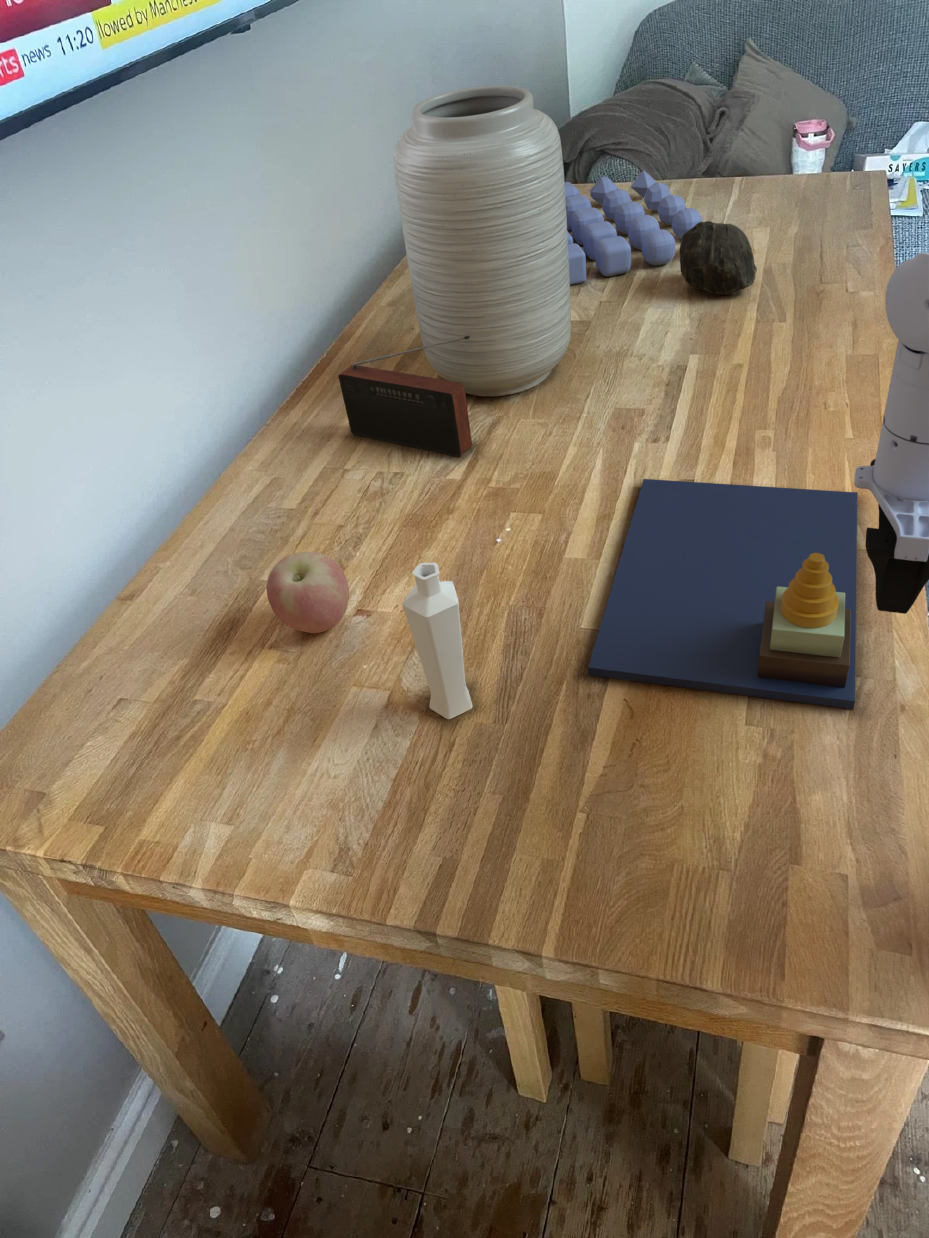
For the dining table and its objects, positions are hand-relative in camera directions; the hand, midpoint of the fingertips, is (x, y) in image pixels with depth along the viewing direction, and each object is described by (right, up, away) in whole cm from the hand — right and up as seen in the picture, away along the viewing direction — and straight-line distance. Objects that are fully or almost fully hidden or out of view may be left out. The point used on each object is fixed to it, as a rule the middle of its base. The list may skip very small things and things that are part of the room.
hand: (892, 577), depth 73 cm
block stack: (-4, -6, +8) cm, 11 cm away
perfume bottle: (-34, -11, +10) cm, 37 cm away
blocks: (-12, +61, +88) cm, 108 cm away
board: (-7, 0, +18) cm, 19 cm away
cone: (-5, -3, +5) cm, 7 cm away
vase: (-28, +30, +56) cm, 70 cm away
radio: (-39, +19, +45) cm, 62 cm away
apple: (-48, -4, +21) cm, 52 cm away
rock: (+4, +46, +68) cm, 82 cm away
